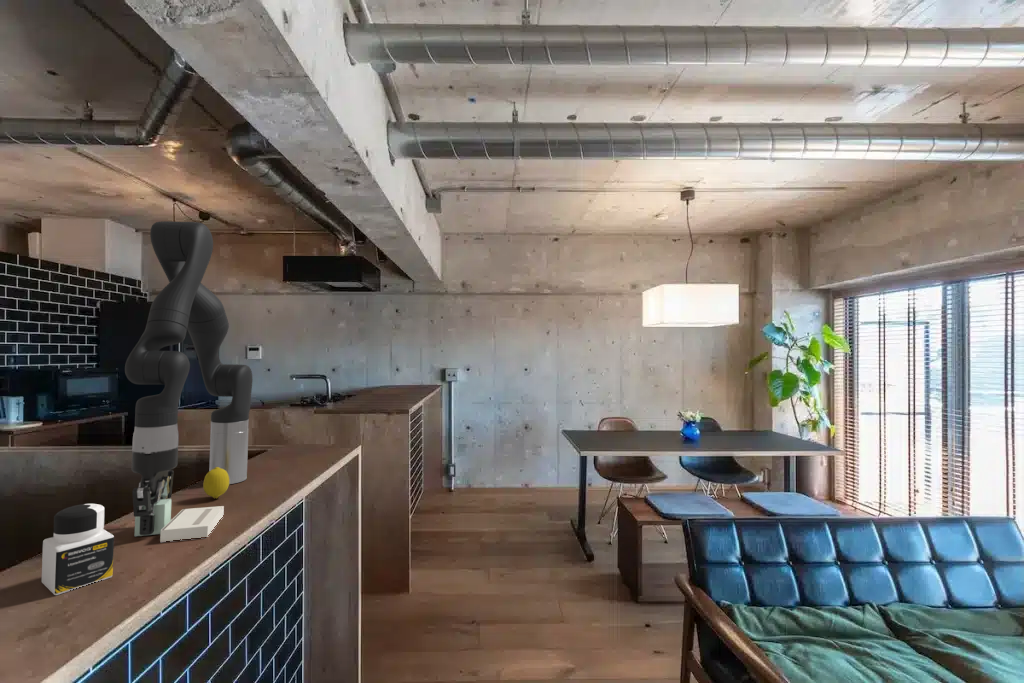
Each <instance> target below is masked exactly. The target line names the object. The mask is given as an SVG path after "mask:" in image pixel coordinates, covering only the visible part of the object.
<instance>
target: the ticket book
mask: <svg viewBox="0 0 1024 683" xmlns="http://www.w3.org/2000/svg"><path fill="white" fill-rule="evenodd" d="M224 508H225V506H224V505H221V506H219V505H218V506H208V507H194V508H193V507H192V508H183V509H181V510H180V511H179V512H178V513H177V514H176V515H175V516H174V517H173V518H171V521H170V522H169V523H168V524H167V525H166V526H165V527H163V528H162V529H161V534H159V536H160V538H159V541H160V543H167V542H166V541H170V542H174V541H173V540H180V539H181V540H180V541H183V540H182V539H191V538H201V537H209V536H210V535H211V534H212V532H213V531H214V530H215V528H216V527H217V526H218V525H217V523H218V522H219V520H220V519H221V518H222V517H223V515H225V514H224V513H225V511H224V510H225V509H224ZM223 518H224V517H223ZM223 518H222V519H223ZM222 519H221V520H222ZM219 523H220V522H219ZM219 523H218V524H219ZM216 525H217V526H216ZM215 526H216V527H215ZM214 527H215V528H214ZM213 529H214V530H213ZM212 530H213V531H212ZM211 531H212V532H211ZM210 533H211V534H210ZM209 534H210V535H209ZM208 535H209V536H208ZM201 539H202V538H201ZM191 540H192V539H191Z"/></svg>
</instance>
